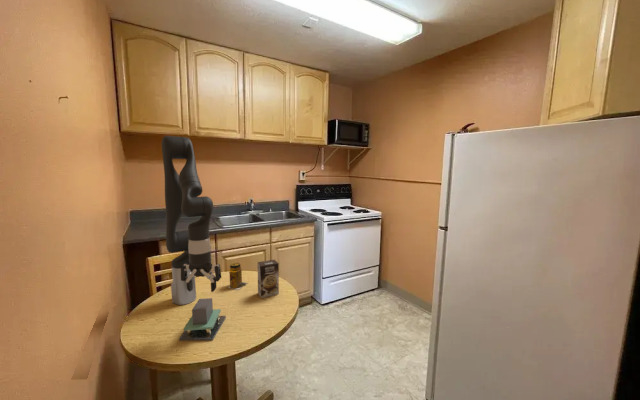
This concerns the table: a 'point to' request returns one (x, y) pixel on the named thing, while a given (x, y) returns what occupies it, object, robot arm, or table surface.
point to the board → (206, 326)
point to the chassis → (203, 332)
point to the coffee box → (268, 278)
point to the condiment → (236, 276)
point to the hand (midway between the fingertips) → (201, 290)
